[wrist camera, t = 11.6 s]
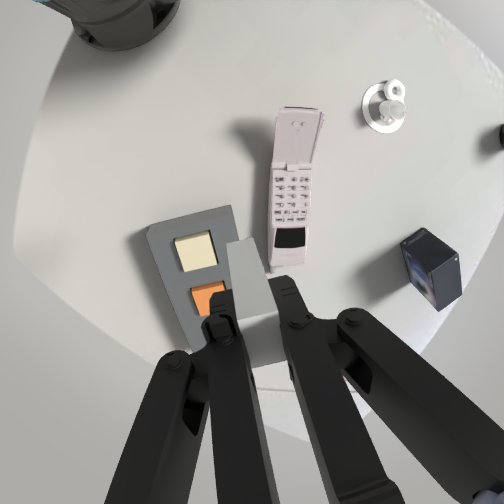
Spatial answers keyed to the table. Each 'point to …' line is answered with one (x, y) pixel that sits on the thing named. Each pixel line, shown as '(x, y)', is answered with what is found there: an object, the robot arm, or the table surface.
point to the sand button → (196, 250)
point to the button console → (182, 282)
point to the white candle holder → (386, 106)
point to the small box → (433, 268)
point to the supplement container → (502, 135)
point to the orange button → (206, 295)
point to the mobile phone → (291, 185)
